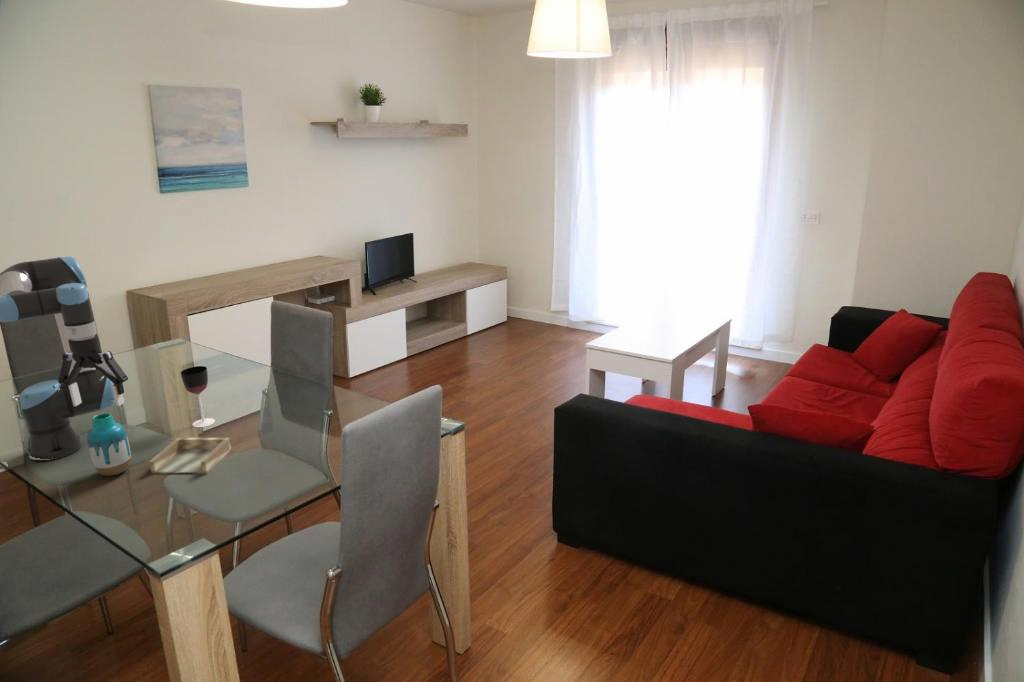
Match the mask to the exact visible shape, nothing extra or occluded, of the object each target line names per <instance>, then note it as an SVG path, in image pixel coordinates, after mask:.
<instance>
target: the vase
mask: <svg viewBox="0 0 1024 682" xmlns="http://www.w3.org/2000/svg"><path fill="white" fill-rule="evenodd" d="M91 420H92V421H91V422H92V428H91V429H90V430H88V432H87V446H88V451H89V455H90V458H91V461H92V464H93V466H94V469H95V470H96V472H98V474H100V475H103V476H108V477H109V476H111V477H112V476H116V475H120V474H122V473H123V472H125V471H127V469H129V468H130V466H131V463H132V453H131V446H130V442H129V437H128V435H127V431H126V430H125V427H124V426H123V425H122V424H121V423H118V422H116V421H115V419H114V416H113V414H112V412H102V413H97V414H96V415H93V416H92V418H91Z"/></svg>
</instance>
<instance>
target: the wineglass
mask: <svg viewBox="0 0 1024 682" xmlns="http://www.w3.org/2000/svg"><path fill="white" fill-rule="evenodd" d="M180 376H181V379H182V383H183V385H184V388H185V389H186V391H187V392H188V393H190V394H195V395H196V396H197V401H198V406H199V411H200V416H201V419H197V420H195V421H194V422H193V423H192V427H195V428H203V427H208V426H211V425H212V424H214V423H215V422H216V420H215V418H211V417H207V418H205V415H204V411H203V406H202V400H201V395H200V394H201V393H202V392H203V391H205V390H206V388H207V387H208V385H209V384H208V382H209V380H208V379H209V377H208V367H207V366H204V365H197V366H192V367H188V368H186V369H183V370H182V371H181V372H180Z"/></svg>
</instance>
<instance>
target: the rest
mask: <svg viewBox="0 0 1024 682" xmlns="http://www.w3.org/2000/svg"><path fill="white" fill-rule="evenodd" d="M231 449H232V444H231V441H230V437H177V438H175V439H174V440H172V441H171V443H169V444H168V445H167V446H166V447H165V448H163V449H162V450H161V451H160V452H159V453H158V454H156V455H155V456H154V457H152V459H151V460H149V461H148V464H149V468H150V472H151V473H150V474H174V473H173V472H189V473H193V474H192V475H194V474H195V475H197V474H198V475H201V474H205V475H207V474H209V473H210V472H211V471H212V470H213V469H214V468H215V467H216V466H217V465H218V464H219V463H220V462H221V461H222V460H223V459H224V457H226V456H227V455H228V453H229V452H230V451H231ZM180 470H181V471H180Z"/></svg>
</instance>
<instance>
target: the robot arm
mask: <svg viewBox="0 0 1024 682" xmlns="http://www.w3.org/2000/svg"><path fill="white" fill-rule="evenodd" d="M86 280H87V279H86V277H85V274H84V272H83V270H82V268H81V265H80V264H79V261H78V260H77V259H76V258H75V257H73V256H65V257H64V256H63V257H62V256H61V257H60V256H58V257H54V258H53V257H52V258H47V259H37V260H31V261H24V262H18V263H16V264H13V265H11V266H9V267H7V268H6V269H4V270H3V271H1V272H0V322H1V323H9V322H17V321H22V320H28V319H33V318H34V319H35V318H39V317H40V318H41V317H45V316H46V317H47V316H52V315H54V318H55V321H56V326H57V328H58V333H59V335H60V340H61V344H62V347H63V350H64V353H63V354H62V355H61V357H62V358H61V359H62V364H61V368H60V373H59V377H58V380H57V379H48V380H43V381H40V382H37V383H35V384H32V385H30V386H28V387H27V388H25V389H24V390H23V391H21V393H20V395H19V402H20V409H22V412H23V417H24V420H25V423H26V424H25V425H26V427H27V431H28V443H27V444H28V445H27V456H28V455H30V456H32V457H35V458H40V459H52V458H53V459H55V458H56V459H55V460H58V459H57V458H59V459H62V458H65V457H67V456H69V455H72V454H74V453H76V452H77V451H79V450H80V449H81V448H82V446H83V441H82V439H81V437H80V436H79V435H78V434H77V432H76V430H75V429H74V428H73V425H71V421H70V419H71V418H75V417H79V416H82V415H87V414H91V413H95V412H102V411H103V410H107V409H110V408H112V407H114V405H115V404H116V407H120V406H122V404H124V403H125V399H124V393H125V388H124V383H125V382H127V381H128V380H129V377H128V376H127V374H126V373H125V372H124V371H123V368H122V367H121V366H120V364H119V363H118V361H116V360H115V358H114V356H113V353H112V351H111V350H108V351H106V352H102V351H101V350H100V349H101V343H100V340H99V336H98V335H97V333H98V330H97V327H96V322H95V319H94V316H93V309H92V306H91V302H90V298H89V297H90V294H89V293H88V289H87V288H88V284H87V281H86ZM61 457H62V458H61Z"/></svg>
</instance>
